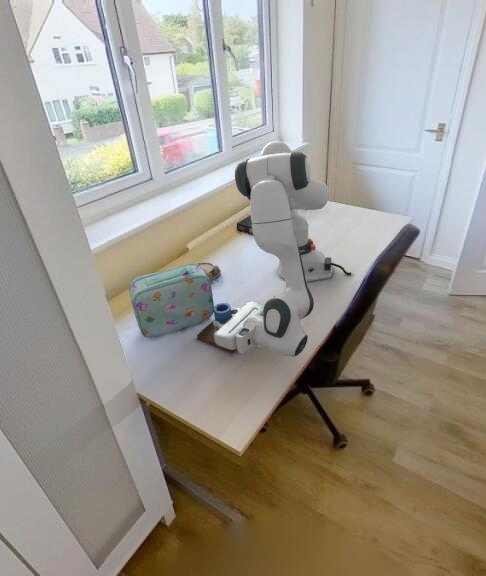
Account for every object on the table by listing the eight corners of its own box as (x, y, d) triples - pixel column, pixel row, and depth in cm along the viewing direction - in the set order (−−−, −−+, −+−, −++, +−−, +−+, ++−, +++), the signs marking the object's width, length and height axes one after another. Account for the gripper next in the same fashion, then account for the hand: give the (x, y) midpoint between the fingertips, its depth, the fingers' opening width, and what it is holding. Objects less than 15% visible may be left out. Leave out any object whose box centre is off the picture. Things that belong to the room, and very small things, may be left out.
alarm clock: (198, 260, 168) (225, 263, 160) (201, 270, 170) (228, 273, 162) (180, 272, 160) (208, 276, 152) (184, 283, 162) (211, 287, 154)
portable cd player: (236, 230, 197) (235, 223, 195) (256, 218, 209) (256, 211, 207) (263, 238, 189) (262, 230, 187) (282, 225, 201) (282, 218, 199)
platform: (253, 332, 132) (251, 310, 127) (231, 354, 123) (228, 332, 118) (220, 319, 138) (217, 298, 133) (197, 339, 130) (193, 318, 125)
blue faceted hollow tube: (236, 327, 130) (234, 305, 125) (226, 337, 126) (223, 315, 121) (223, 322, 132) (220, 301, 127) (213, 331, 129) (210, 309, 124)
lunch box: (210, 304, 146) (202, 253, 134) (220, 319, 138) (212, 266, 126) (137, 327, 136) (122, 274, 124) (144, 344, 129) (128, 290, 117)
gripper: (274, 303, 126) (238, 291, 132) (236, 341, 112) (199, 326, 118) (274, 318, 129) (240, 306, 136) (238, 357, 115) (202, 341, 121)
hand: (221, 316), depth 127 cm, fingers closed on blue faceted hollow tube, 5 cm apart
